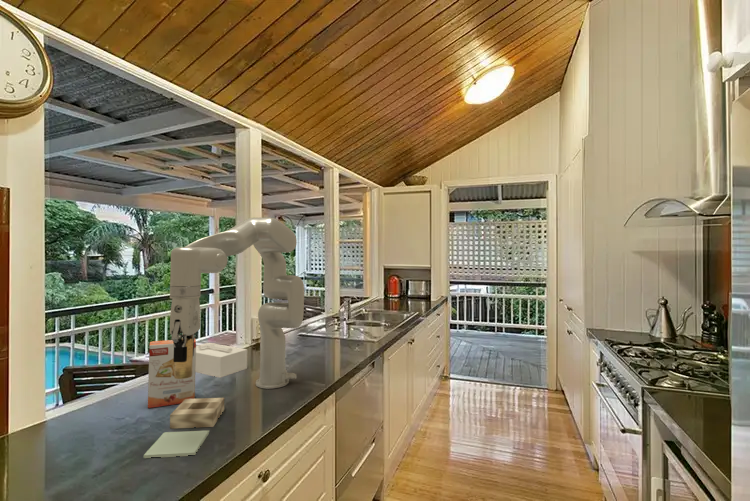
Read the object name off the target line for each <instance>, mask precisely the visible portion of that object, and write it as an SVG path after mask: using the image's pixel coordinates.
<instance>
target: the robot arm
mask: <svg viewBox="0 0 750 501" xmlns="http://www.w3.org/2000/svg"><path fill="white" fill-rule="evenodd" d="M252 246H253V248H254V249H255V250H256V251H257V252H258V254H259V255H260V257H261V260H263V261H262V262H263V285H262V286H263V287H262V288H263V289H262V290H263V295H264V296H265V297H266V298H268V299H273V300H285V301H287V302H275V301H273V302H266V303H263V304H262V305H261V306H260V307H259V308H258V312H257V317H258V318H257V320H258V324H259V332H260V340H259V341H260V346H259V351H260V354H259V378H258V379H256V380H255V386H256V387H258V388H260V389H265V390H266V389H267V390H268V389H269V390H271V389H279V388H283V387H285V386H287V385H288V384H290V380H297V373H294V372H288V371H287V369H286V343H287V342H286V341H287V339H286V335H285V332H284V330H283V329H297V328H300V327H301V325H302V324H303V319H304V313H305V312H304V310H305V307H304V306H305V304H304V303H305V285H304V281H303V280H302V278H301V277H300V276H298V275H293V274H292V275H289V274H287V261H286V258H285V256H284V255H283V254H285V253H287V254H288V253H291V252H294V250H295V249H296V247H297V237H296V234H295V232H294V231H292V229H290V228H289V227H288V226H287V225H285V224H284V223H283V222H281V221H279V220H278V219H276V218H274V217H250V218H249V217H248V218H246V219H244V220H243V221H241V222H239V223H238V224H236V225H234V226H233V227H230V228H229V229H227V230H225V231H221V232H217V233H215V234H212V235H208V236H206V237H202V238H200V239H197V240H195V241H193V242H191V243H189V244H187V245H185V246H183V247H174V248H173V249H172V250H171V252H170V253H171V254H170V278H169V279H170V281H169V284H170V285H169V288H170V289H169V299H170V300H171V305H170V316H169V317H170V318H169V334H170V335H171V340H173V343H174V344H173V347H174V359H173V361H174V362H186V361H187V347H185V346H186V338H193V356H194V338H195V334H196V333H197V332H198V331H200V329H201V303H200V298H201V294H202V292H201V289H202V287H201V284H202V274H217V273H220V272H221V271H223V270H224V269H225V268H226V267H227V264H228V257H231V256H236V255H239V254H241V253H243V252H245V251H246V250H247V249H248V248H250V247H252ZM282 253H283V254H282ZM181 338H183V341H182V339H181Z"/></svg>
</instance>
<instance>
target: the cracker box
mask: <svg viewBox="0 0 750 501" xmlns="http://www.w3.org/2000/svg"><path fill="white" fill-rule="evenodd" d="M196 340H197V339H196V337H194V356H193V364H192V376H191V377H189V378H185V379H176V378H174V367H175V362H174V361H173V359H174V347H173V344H174V343H173V340H172V339H170V340H169V339H168V340H167V339H165V340H154V341H150V342H149V346H148V347H149V350H148V352H149V354H148V380H147V381H148V382H147V383H148V384H147V387H148V388H147V389H148V390H147V409H152V408H159V407H167V406H172V405H173V406H174V405H180V404H181V403H182V402H183V401H184V400H185V399H196V398H195V397H196V395H195V394H196V372H195V367H196V346H197V341H196Z"/></svg>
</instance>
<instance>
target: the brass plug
mask: <svg viewBox="0 0 750 501" xmlns="http://www.w3.org/2000/svg"><path fill="white" fill-rule="evenodd" d="M180 338H181V339H182V341H183V337H180ZM185 347H187V361H186V362H175V367H174V378H176V379H185V378H189V377H191V376H192V364H193V338H186V346H185Z"/></svg>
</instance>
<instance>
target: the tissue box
mask: <svg viewBox="0 0 750 501" xmlns="http://www.w3.org/2000/svg"><path fill="white" fill-rule="evenodd" d="M247 369H248V349H247V348H241V347H234V346H231V345H224V344H223V345H222V344H219V343H213V342H206V343H202V344H196V367H195V373H197V374H201V375H202V374H203V375H205V376H210V377H214V376H215V378H220V379H221V378H224V377H226V376H230V375H232V374H235V373H238V372H240V371H243V370H247Z"/></svg>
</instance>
